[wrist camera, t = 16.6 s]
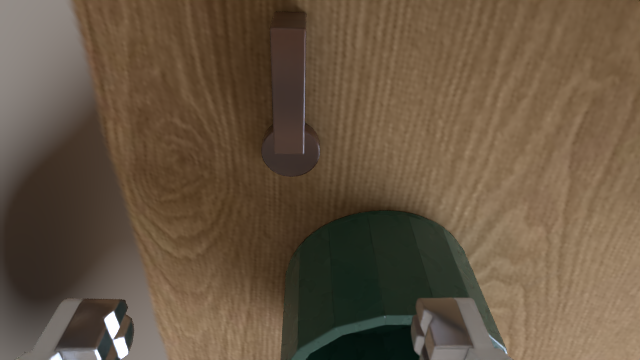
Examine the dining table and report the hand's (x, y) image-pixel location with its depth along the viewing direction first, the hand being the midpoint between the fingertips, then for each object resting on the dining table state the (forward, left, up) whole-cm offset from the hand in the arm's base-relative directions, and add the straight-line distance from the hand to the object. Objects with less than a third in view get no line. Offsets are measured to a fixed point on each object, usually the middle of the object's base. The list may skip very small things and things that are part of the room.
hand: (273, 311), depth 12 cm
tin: (+6, +15, -14) cm, 21 cm away
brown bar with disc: (0, 0, -14) cm, 14 cm away
